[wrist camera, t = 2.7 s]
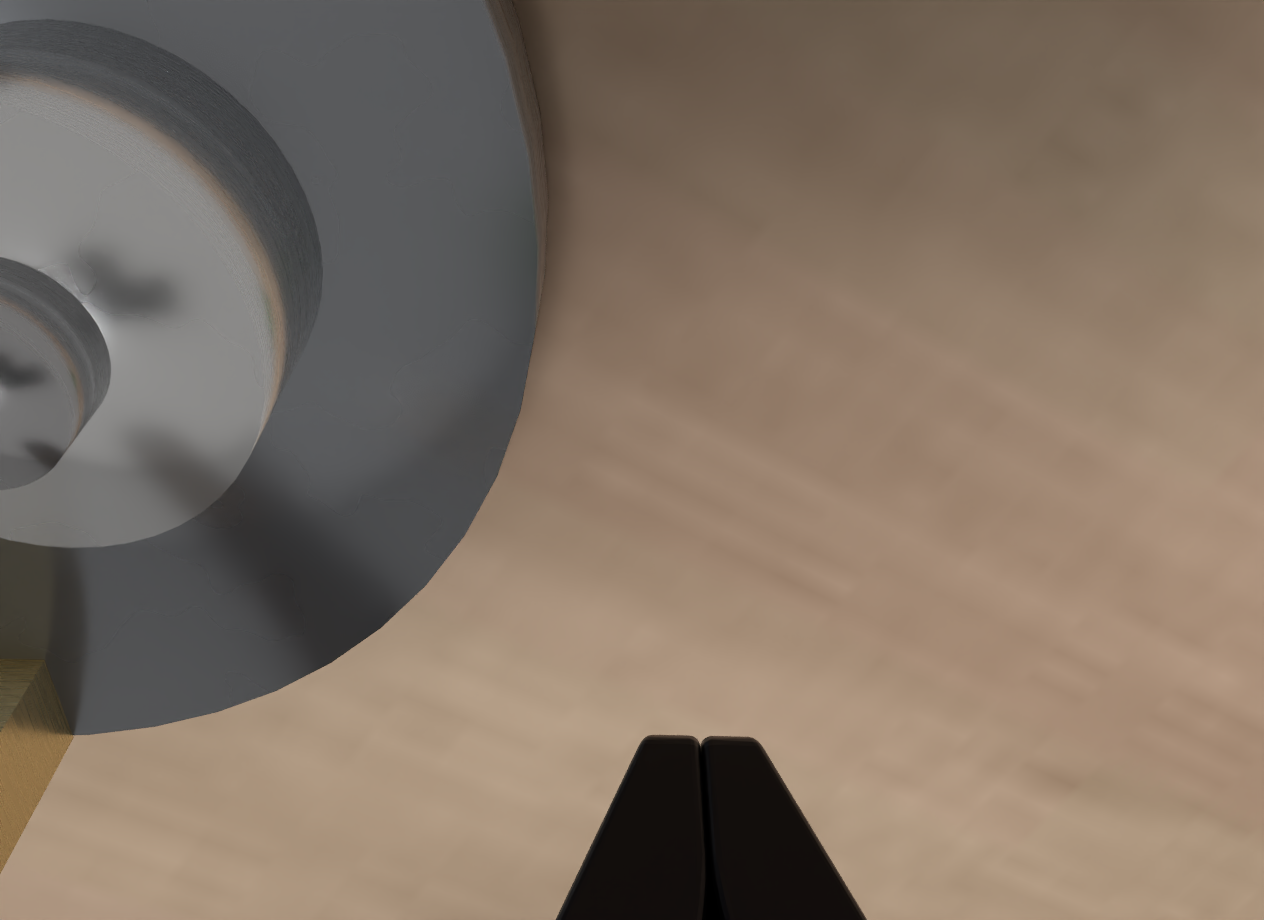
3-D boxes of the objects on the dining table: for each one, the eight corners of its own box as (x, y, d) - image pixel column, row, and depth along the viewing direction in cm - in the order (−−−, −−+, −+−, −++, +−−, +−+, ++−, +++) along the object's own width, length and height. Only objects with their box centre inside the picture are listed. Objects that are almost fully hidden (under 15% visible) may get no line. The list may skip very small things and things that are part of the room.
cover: (-43, 420, 18) (-209, 603, 15) (-193, 14, 15) (-458, 125, 11) (347, 429, 18) (274, 613, 14) (288, 23, 15) (173, 137, 11)
